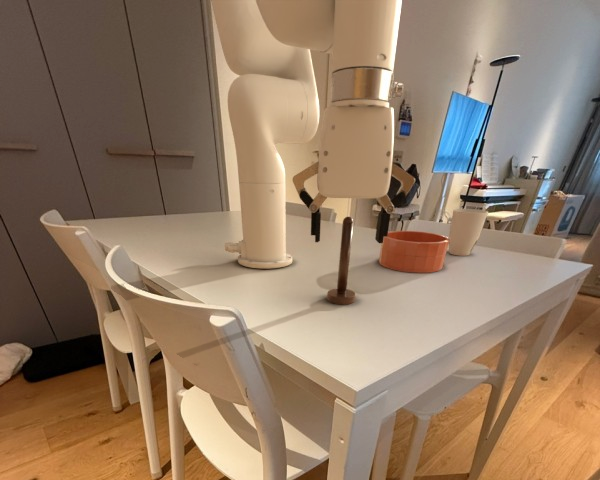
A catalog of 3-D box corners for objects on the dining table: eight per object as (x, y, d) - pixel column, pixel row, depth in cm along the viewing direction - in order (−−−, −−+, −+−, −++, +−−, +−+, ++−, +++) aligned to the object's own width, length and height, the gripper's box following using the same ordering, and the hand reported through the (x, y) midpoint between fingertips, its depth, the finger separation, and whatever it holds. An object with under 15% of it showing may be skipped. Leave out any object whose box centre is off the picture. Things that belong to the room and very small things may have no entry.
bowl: (384, 271, 73) (389, 242, 70) (374, 256, 85) (378, 230, 81) (450, 273, 73) (459, 243, 69) (431, 257, 85) (438, 231, 81)
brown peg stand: (327, 304, 56) (333, 218, 49) (326, 294, 60) (331, 214, 53) (356, 305, 56) (366, 219, 49) (353, 295, 60) (362, 214, 53)
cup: (480, 257, 86) (494, 213, 80) (448, 256, 86) (460, 212, 80) (468, 250, 92) (480, 209, 87) (438, 249, 92) (449, 208, 87)
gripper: (420, 99, 45) (398, 238, 55) (293, 99, 46) (294, 236, 56) (437, 89, 39) (409, 247, 49) (290, 88, 40) (291, 245, 49)
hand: (348, 241), depth 52 cm, fingers open, 9 cm apart
